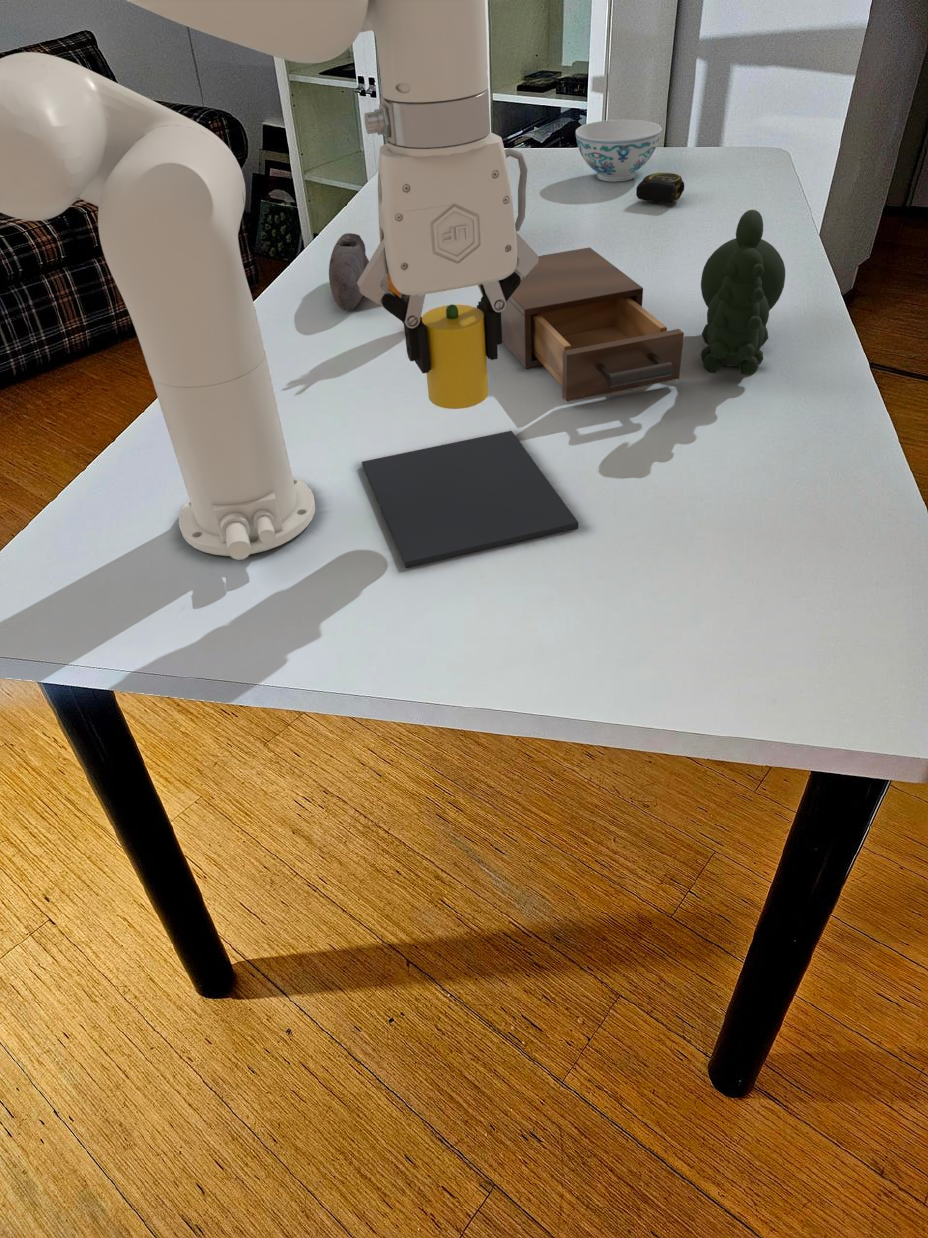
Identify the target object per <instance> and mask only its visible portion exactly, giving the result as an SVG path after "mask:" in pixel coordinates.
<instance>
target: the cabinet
mask: <svg viewBox="0 0 928 1238" xmlns="http://www.w3.org/2000/svg"><path fill="white" fill-rule="evenodd" d="M538 257H539V261H538V263H537V264H536V266H535V267H534V268H533V269H532V270H531V271H530V272H529V273H528V274H527V275H526V277H525V278H523V279H522V280H521V282H520V285H519V286H518V287H517V289H516V290H515V291H514V293H513V294H512V295H511V296H510V298H509V299H508V300H507V301H506V307H505V309H504V310H503V311H502V312H501V324H502V344H504V345H505V346H506V348H507V349H508V350H509V351H510V352H511V353H512V354H513V356H514V357H515V358H516V359H517V361H518V362H519V363H520V364H521V365H522V367H524V369H531V368H535V367H542V366H543V364H542V363H541V362H540V361H539V360H538V359H537V358H536V357H535V355H534V354H533V353H532V349H531V315H533V314H539V313H544V312H550V311H555V310H561V309H566V308H572V307H577V306H583V305H588V304H594V303H599V302H605V301H610V300H616V299H621V298H626V297H630V298H631V299H632V300H634V301H635V302H636V303H637V304H639V305H640V306H641V307H642V308H643V296H644V287H643V286H641V285H640V284H639V283H637V282H636V280H634V279H632V278H631V277H629V276H628V275H627V274H626V273H624V272H623V271H622V270H620V269H619V268H618V267H616V266H615V265H614V264H613V263H611V262H610V261H608V260H607V259H606V258H604V257H603V256H602V255H601V254H599V252H597V251H595V250H594V249H593V248H592V247H590V246H589V247H583V248H577V249H572V250H565V251H560V252H559V251H558V252H553V253H549V254H543V255H542V254H541V255H538Z"/></svg>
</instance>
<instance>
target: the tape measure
mask: <svg viewBox="0 0 928 1238" xmlns="http://www.w3.org/2000/svg"><path fill="white" fill-rule="evenodd" d="M635 189H636V191H635V195H636V198H637V199H639V200H641V201H646V202H649V203H650V202H651V203H653V204H654V205H660V204H671V205H673V204H674V203H675V202H676V201H677V200H679V199H680V198H681V196H682V194H683V192H684V191H685V181H684V180H683V178H682V176H681V175H680V174H677V173H673V172H656V173H651V174H648V175H646V176H644V178H643V179H642V181H641V182H639V183H638V185H637V186H636V188H635Z"/></svg>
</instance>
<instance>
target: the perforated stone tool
mask: <svg viewBox="0 0 928 1238" xmlns="http://www.w3.org/2000/svg"><path fill="white" fill-rule="evenodd" d="M369 261H370V260H369V258H368V257H367V254H366V244H365V242H364V240H363V239H362V238H361V235H359V234H357V233H349V232H347V233H343V234H342V235H341V236H340V237H339V238H338V239H337V241H336V243H335V244H334V247H333V249H332V252H331V255H330V259H329V264H328V281H329V287H330V292H331V295H332V297H333V299H334V301H335V302H336V305H337V306H338V308H340V310H342V311H343V312H349V311H351V310H353V309H355V308H356V307H357V306H358V305H359V303H360V302H361V300H362V298H363V297H364V295H362V294H361V292H360V291H359V289H358V287H357V282H358V280H359V278H360V276H361V275H362V273H363V271H364V270H365V268H366V266H367V264H368V263H369Z"/></svg>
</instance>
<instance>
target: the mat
mask: <svg viewBox="0 0 928 1238" xmlns="http://www.w3.org/2000/svg"><path fill="white" fill-rule="evenodd" d="M361 467H362V469H363V472H364V473H365V476H366V478H367V481H368V483H369V485H370V488H371V490H372V492H373V495H374V497H375V499H376V502H377V504H378V506H379V509H380V511H381V513H382V516H383V518H384V520H385V522H386V525H387V528H388V530H389V532H390V534H391V537H392V539H393V541H394V544H395V546H396V549H397V550H398V553H399V555H400V557H401V560H402V562H403V564H404V567H405V568H410V567H414V566H419V565H423V564H428V563H431V562H436V561H440V560H444V559H445V560H446V559H449V558H454V557H458V556H462V555H467V554H470V553H475V552H481V551H484V550H488V549H492V548H497V547H501V546H505V545H509V544H515V543H518V542H523V541H526V540H531V539H535V538H540V537H544V536H549V535H552V534H556V533H557V534H558V533H561V532H562V533H563V532H565V531H570V530H574V529H578V528H579V521H578V520H577V518H576V517H575V515H574V514H573V512H571V510H570V509H569V508H568V506H567V505H566V503H565V502H564V501H563V499H562V498H561V496H560V495H559V494H558V492H557V491H556V490H555V488H554V487H553V485H552V484H551V483H550V481H549V480H548V478H547V477H546V476H545V474H544V472H543V471H541V468H539V466H538V465H537V463H536V462H535V461H534V459H533V458H532V456H531V455H530V454H529V452H528V451H527V449H525V447H524V446H523V444H522V443H521V442H520V440H519V439H518V437H517V436H516V435H515V433H514V432H513V431H512V430H508V431H503V432H498V433H493V434H488V435H484V436H478V437H474V438H468V439H464V440H459V441H455V442H450V443H449V442H448V443H445V444H440V445H435V446H431V447H426V448H421V449H417V450H416V449H415V450H411V451H407V452H402V453H397V454H393V455H388V456H383V457H378V458H373V459H372V458H371V459H367V460H362V461H361Z"/></svg>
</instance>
